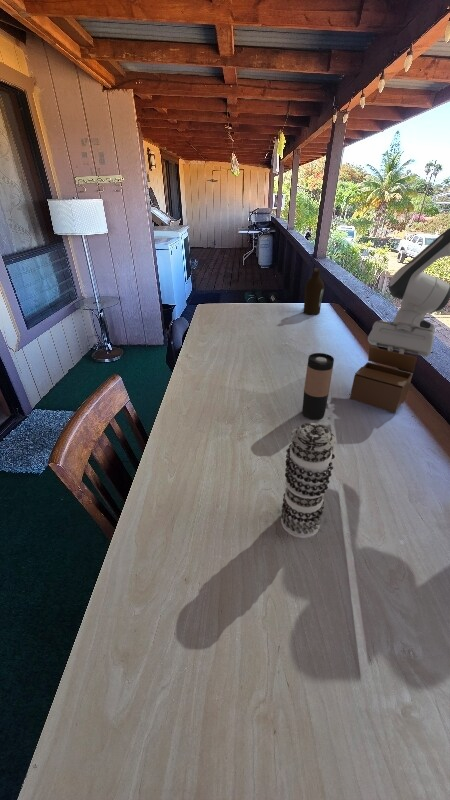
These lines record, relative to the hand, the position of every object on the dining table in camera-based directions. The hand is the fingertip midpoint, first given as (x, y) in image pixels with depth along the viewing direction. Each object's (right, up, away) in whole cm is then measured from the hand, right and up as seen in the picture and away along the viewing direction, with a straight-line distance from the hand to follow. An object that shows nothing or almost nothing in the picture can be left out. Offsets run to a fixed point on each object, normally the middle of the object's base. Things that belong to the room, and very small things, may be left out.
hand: (391, 360), depth 119 cm
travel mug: (-28, -18, -4) cm, 33 cm away
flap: (-1, 0, -1) cm, 1 cm away
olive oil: (-5, +39, +90) cm, 98 cm away
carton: (-4, -14, +3) cm, 15 cm away
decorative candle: (-40, -41, -41) cm, 70 cm away
